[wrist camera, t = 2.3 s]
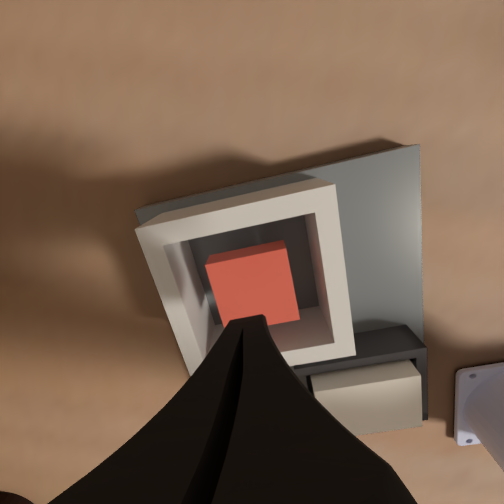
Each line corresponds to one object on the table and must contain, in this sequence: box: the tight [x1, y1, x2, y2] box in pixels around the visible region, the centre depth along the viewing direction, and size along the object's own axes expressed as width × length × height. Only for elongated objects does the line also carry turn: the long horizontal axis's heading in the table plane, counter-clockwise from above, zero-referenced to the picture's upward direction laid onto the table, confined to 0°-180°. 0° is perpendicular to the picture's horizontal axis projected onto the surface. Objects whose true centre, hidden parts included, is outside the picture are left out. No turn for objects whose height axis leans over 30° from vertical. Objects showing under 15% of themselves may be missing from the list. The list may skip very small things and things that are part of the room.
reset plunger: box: [205, 240, 300, 328], centre depth 14 cm, size 4×4×1 cm
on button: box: [310, 359, 422, 436], centre depth 17 cm, size 6×4×1 cm, turn 103°
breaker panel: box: [134, 144, 428, 420], centre depth 17 cm, size 16×18×5 cm
